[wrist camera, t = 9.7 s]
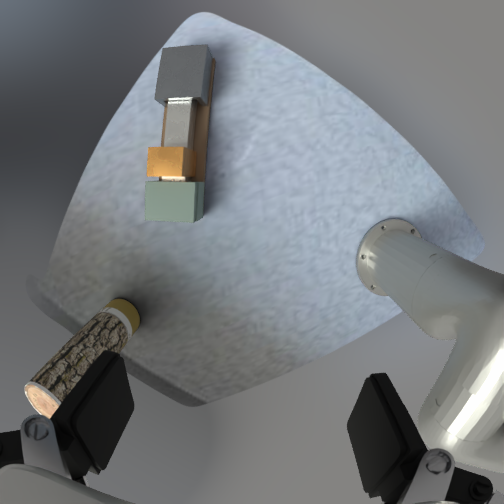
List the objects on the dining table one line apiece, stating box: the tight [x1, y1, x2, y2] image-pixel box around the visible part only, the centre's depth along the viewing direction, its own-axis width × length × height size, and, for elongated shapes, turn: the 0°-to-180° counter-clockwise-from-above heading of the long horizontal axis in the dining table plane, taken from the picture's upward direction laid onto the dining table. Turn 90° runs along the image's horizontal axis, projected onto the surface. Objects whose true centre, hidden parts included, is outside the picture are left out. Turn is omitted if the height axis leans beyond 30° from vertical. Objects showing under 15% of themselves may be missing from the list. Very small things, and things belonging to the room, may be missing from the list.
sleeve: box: [155, 45, 213, 108], centre depth 31 cm, size 6×8×5 cm
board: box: [159, 58, 216, 208], centre depth 36 cm, size 7×24×1 cm, turn 176°
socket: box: [145, 181, 205, 223], centre depth 36 cm, size 7×5×5 cm
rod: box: [147, 99, 197, 182], centre depth 33 cm, size 4×15×7 cm, turn 176°
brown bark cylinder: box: [25, 299, 140, 419], centre depth 32 cm, size 7×7×25 cm
